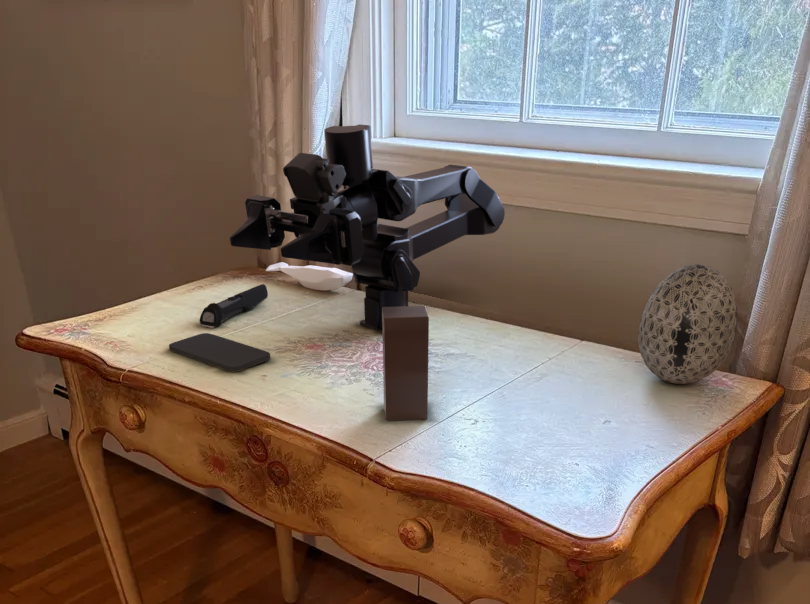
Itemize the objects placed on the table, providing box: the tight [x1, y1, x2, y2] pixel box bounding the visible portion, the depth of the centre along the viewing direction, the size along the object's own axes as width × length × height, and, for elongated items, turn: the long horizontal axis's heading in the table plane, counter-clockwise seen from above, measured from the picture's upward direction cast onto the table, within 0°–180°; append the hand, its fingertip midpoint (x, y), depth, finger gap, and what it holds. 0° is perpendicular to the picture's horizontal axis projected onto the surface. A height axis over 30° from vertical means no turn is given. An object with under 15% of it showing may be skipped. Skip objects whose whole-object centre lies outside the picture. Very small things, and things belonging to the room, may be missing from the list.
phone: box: [168, 332, 271, 373], centre depth 113 cm, size 7×1×15 cm
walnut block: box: [382, 305, 430, 422], centre depth 93 cm, size 4×5×12 cm
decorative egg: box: [637, 263, 738, 385], centre depth 100 cm, size 12×12×15 cm
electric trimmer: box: [199, 283, 269, 329], centre depth 128 cm, size 4×16×3 cm, turn 153°
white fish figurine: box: [265, 261, 354, 291], centre depth 141 cm, size 6×18×4 cm, turn 52°
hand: (255, 247), depth 98 cm, fingers open, 9 cm apart
